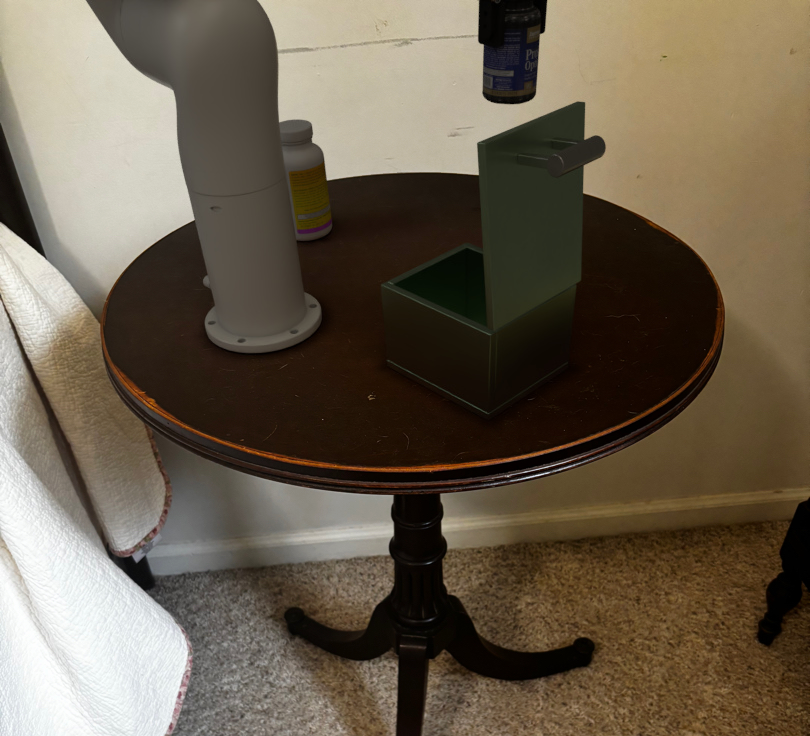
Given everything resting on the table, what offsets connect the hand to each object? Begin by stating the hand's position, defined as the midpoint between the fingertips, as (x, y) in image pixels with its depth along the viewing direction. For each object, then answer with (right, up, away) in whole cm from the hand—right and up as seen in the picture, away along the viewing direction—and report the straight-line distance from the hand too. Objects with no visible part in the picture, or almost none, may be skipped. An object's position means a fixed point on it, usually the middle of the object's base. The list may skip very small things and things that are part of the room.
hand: (511, 36), depth 87 cm
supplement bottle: (-24, -15, +17) cm, 33 cm away
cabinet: (-5, -38, -8) cm, 39 cm away
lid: (-2, -29, -22) cm, 37 cm away
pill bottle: (0, -4, +4) cm, 6 cm away
